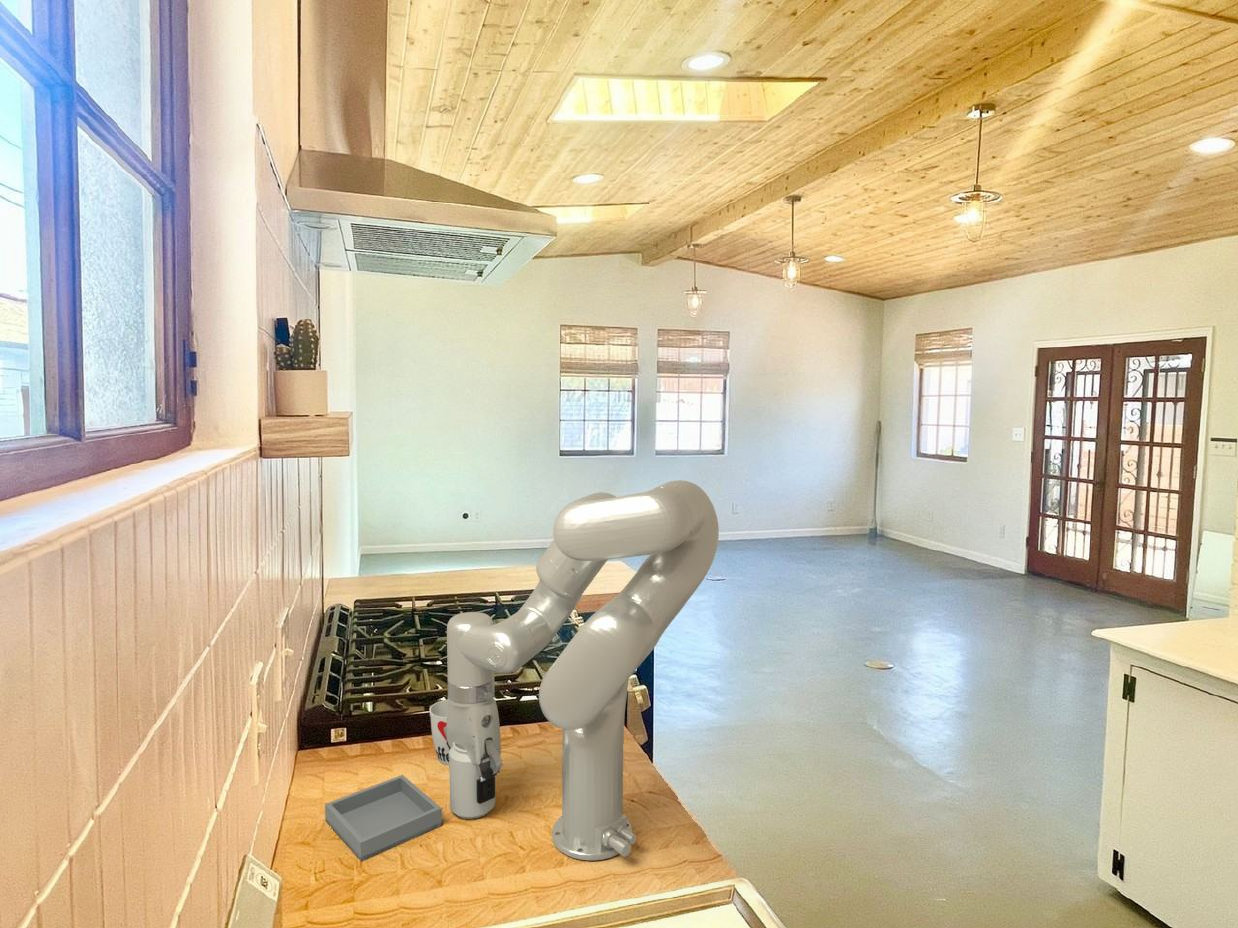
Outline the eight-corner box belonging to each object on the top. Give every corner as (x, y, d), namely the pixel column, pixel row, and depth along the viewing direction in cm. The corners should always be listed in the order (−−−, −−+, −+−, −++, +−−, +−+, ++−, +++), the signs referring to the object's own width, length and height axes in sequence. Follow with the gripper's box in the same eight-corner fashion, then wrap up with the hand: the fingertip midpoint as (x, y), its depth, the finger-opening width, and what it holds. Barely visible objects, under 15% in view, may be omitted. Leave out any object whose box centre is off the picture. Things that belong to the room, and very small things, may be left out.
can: (485, 824, 121) (484, 754, 120) (442, 818, 123) (441, 749, 121) (501, 798, 129) (501, 732, 127) (460, 793, 130) (459, 728, 129)
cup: (421, 760, 141) (420, 709, 140) (453, 743, 148) (452, 694, 147) (451, 773, 137) (450, 721, 135) (483, 755, 143) (482, 705, 142)
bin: (442, 825, 121) (441, 807, 121) (361, 861, 112) (360, 842, 112) (402, 790, 131) (402, 774, 131) (325, 821, 122) (324, 803, 121)
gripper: (520, 699, 119) (521, 803, 122) (463, 667, 132) (464, 761, 134) (480, 713, 114) (481, 821, 117) (424, 678, 127) (426, 776, 129)
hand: (472, 789), depth 125 cm, fingers closed on can, 7 cm apart
